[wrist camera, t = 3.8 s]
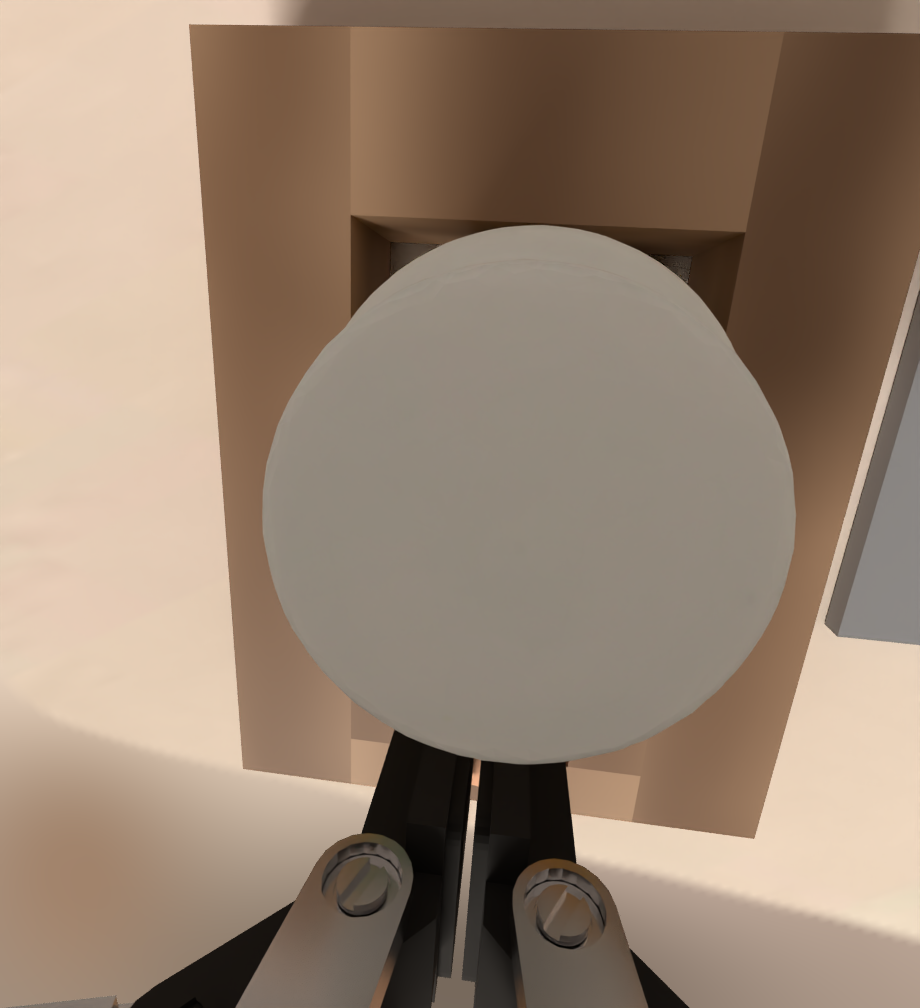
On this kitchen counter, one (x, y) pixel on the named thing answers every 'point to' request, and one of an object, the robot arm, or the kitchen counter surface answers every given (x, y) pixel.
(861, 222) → the housing
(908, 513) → the pad
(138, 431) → the kitchen counter surface
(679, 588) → the supplement bottle
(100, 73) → the kitchen counter surface
